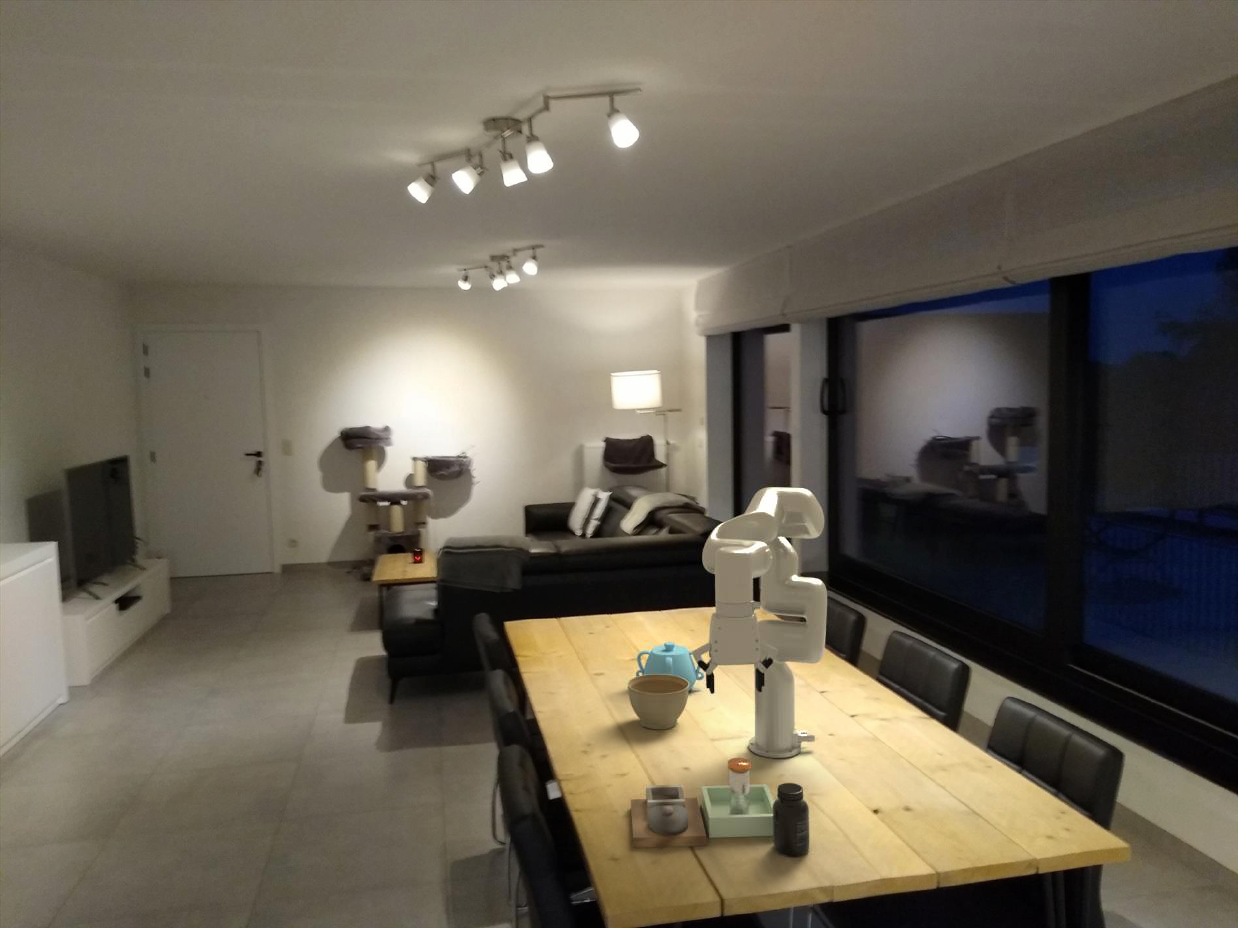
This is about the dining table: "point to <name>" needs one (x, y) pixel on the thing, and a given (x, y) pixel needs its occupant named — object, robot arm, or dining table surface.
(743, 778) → the jar with copper lid
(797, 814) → the supplement bottle
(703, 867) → the dining table surface
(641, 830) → the wooden stand
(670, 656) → the decorative pot
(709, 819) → the tray
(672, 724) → the planter bowl
